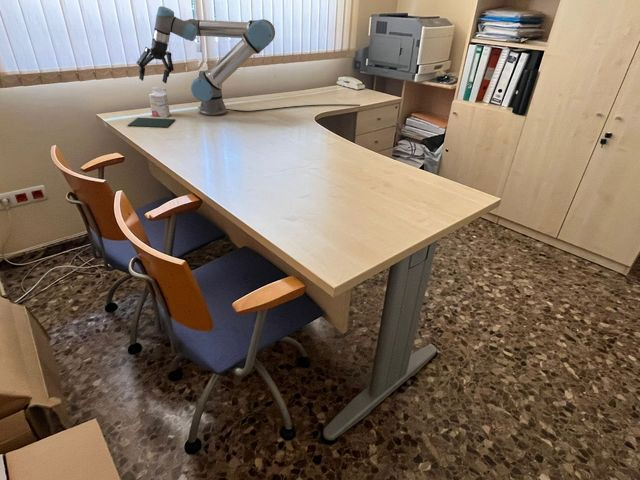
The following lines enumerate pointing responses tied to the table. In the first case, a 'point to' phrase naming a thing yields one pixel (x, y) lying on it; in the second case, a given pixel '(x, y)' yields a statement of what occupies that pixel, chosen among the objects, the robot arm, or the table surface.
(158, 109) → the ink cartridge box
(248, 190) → the table surface
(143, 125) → the desk mat
